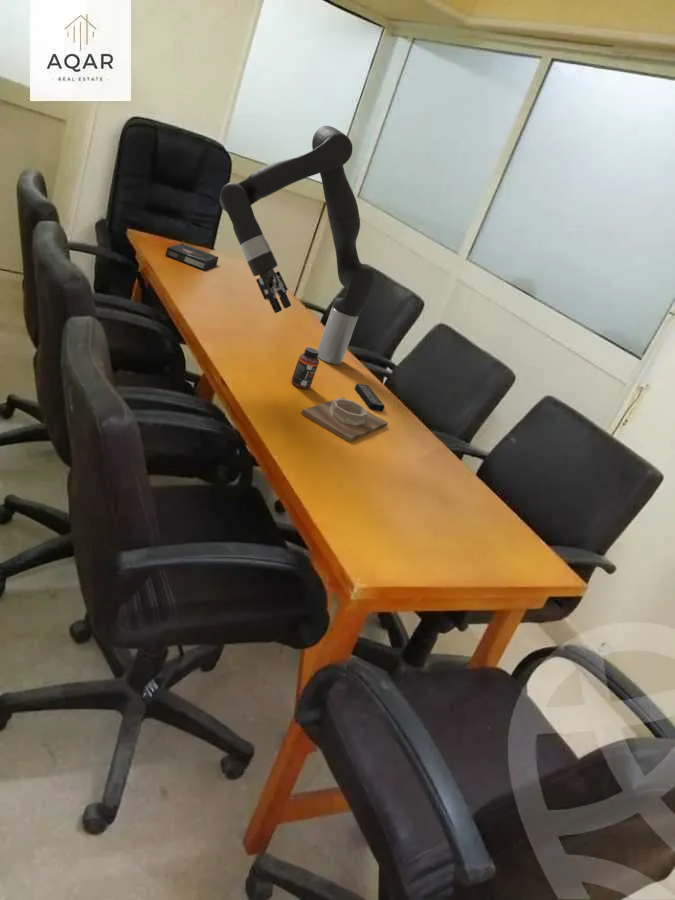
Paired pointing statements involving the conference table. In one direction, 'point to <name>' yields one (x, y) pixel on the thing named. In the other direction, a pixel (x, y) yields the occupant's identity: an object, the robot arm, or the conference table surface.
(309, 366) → the supplement bottle
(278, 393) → the conference table surface
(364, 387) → the multiport hub
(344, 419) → the ring stand
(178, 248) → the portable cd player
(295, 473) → the conference table surface
